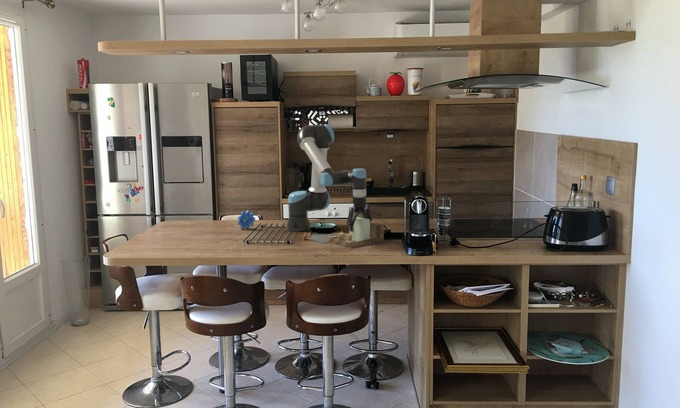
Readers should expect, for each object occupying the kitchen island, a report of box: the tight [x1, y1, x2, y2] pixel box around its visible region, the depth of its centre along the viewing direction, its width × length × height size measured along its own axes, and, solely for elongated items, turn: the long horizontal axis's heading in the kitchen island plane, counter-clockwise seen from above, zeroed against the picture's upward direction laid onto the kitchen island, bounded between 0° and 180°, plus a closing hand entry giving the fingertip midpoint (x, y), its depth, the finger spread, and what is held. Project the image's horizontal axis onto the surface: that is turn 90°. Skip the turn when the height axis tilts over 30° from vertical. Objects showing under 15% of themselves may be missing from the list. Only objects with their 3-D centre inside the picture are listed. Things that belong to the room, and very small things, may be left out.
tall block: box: [349, 217, 371, 242], centre depth 317 cm, size 12×4×13 cm, turn 40°
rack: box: [328, 222, 384, 249], centre depth 315 cm, size 18×25×9 cm
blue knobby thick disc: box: [237, 209, 256, 230], centre depth 352 cm, size 12×7×12 cm, turn 79°
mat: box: [305, 234, 333, 244], centre depth 322 cm, size 16×12×1 cm
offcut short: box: [337, 232, 352, 241], centre depth 311 cm, size 8×3×3 cm, turn 48°
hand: (359, 235), depth 317 cm, fingers open, 10 cm apart
